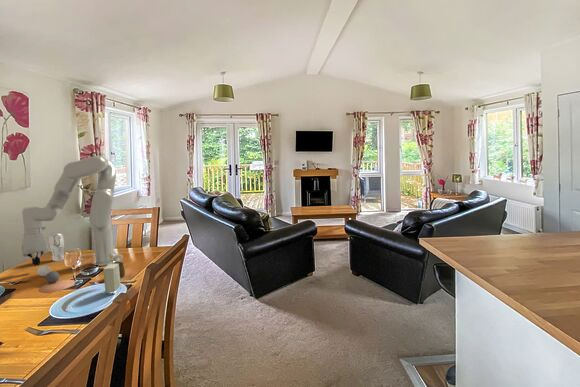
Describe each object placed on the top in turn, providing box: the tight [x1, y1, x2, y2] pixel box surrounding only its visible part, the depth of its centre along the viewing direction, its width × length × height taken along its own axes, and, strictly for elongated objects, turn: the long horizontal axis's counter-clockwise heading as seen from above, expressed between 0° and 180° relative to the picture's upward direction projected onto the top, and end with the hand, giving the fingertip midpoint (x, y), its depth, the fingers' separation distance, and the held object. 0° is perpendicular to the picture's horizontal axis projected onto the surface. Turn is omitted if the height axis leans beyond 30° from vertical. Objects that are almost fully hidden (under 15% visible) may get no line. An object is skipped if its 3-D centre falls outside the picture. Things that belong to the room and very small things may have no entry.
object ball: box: [45, 271, 60, 283], centre depth 162 cm, size 6×6×6 cm
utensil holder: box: [109, 254, 126, 279], centre depth 168 cm, size 6×6×12 cm
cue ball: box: [36, 264, 52, 277], centre depth 171 cm, size 6×6×6 cm
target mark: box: [38, 279, 76, 293], centre depth 158 cm, size 14×14×1 cm
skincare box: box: [103, 263, 122, 294], centre depth 150 cm, size 6×4×12 cm
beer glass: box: [48, 232, 65, 262], centre depth 196 cm, size 7×7×15 cm
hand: (36, 264), depth 177 cm, fingers closed
